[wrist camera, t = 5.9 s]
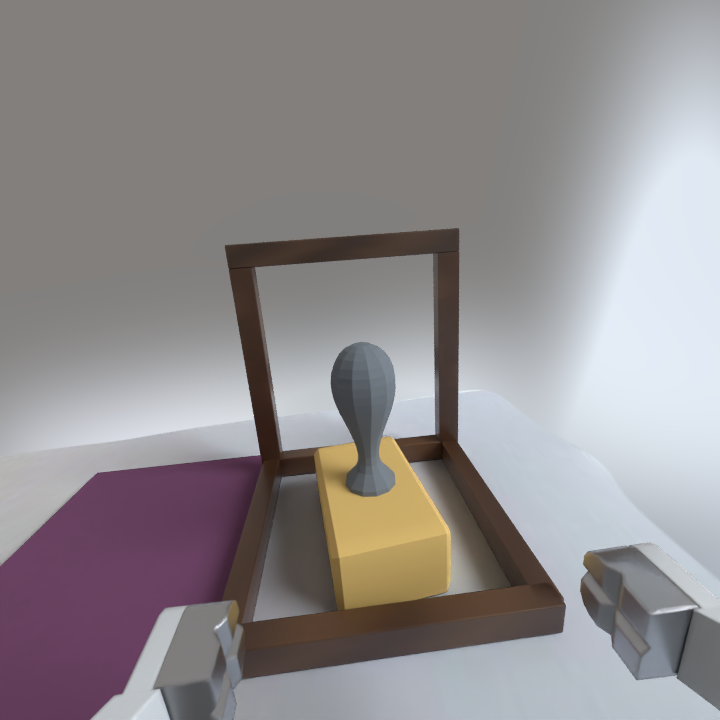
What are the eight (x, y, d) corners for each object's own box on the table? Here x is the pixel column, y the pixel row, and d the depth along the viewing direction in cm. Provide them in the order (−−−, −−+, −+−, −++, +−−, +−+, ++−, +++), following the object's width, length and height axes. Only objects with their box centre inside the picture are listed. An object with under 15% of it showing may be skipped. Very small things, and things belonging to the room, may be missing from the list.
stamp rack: (207, 684, 15) (83, 237, 10) (266, 470, 30) (228, 245, 25) (568, 632, 16) (624, 199, 11) (453, 449, 31) (453, 229, 26)
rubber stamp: (453, 591, 18) (454, 362, 15) (338, 620, 17) (311, 382, 14) (394, 477, 28) (387, 320, 24) (318, 491, 27) (298, 330, 23)
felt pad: (-282, 852, 11) (-290, 845, 11) (98, 476, 31) (97, 472, 30) (174, 779, 12) (171, 772, 12) (267, 458, 31) (266, 454, 31)
